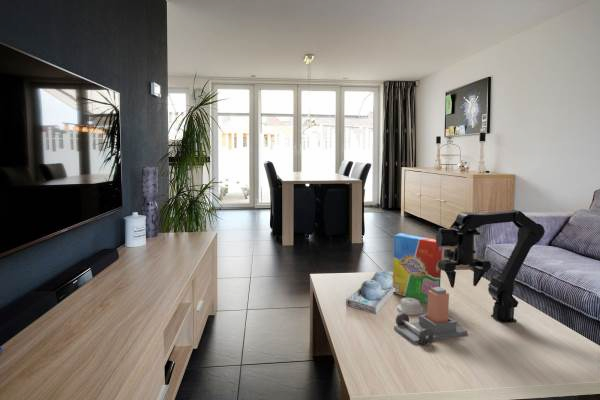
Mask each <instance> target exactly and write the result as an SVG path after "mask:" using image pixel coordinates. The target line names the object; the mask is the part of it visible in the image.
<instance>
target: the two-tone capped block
mask: <svg viewBox="0 0 600 400" xmlns="http://www.w3.org/2000/svg"><path fill="white" fill-rule="evenodd" d="M449 302H450V293H449V292H447V289H445V288H443V287H442V286H440V287H434V288H431V290H430V291H428V303H427V309H426V310H427V311H426V312H427V313H426V314H427V319H429V320H431V321H432V322H434V323H435V324H438V323H443V322H448V317H449V304H450V303H449Z"/></svg>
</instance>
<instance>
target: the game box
mask: <svg viewBox="0 0 600 400" xmlns="http://www.w3.org/2000/svg"><path fill="white" fill-rule="evenodd" d="M393 239H394V240H393V266H392V288H393V287H394V288H395V293H394V294H396V295H400V296H403V297H404V298H414V299H417V300H419V301H420V303H421V302H422V303H424V304H428V291H430V290H431V288H434V287H441V277H442V275H441V274H442V269H440V268H439V267H438V262H439V261H440V260H443V259H442V258H443V256H442V255H443V247H439V246H438V245H437V243H436V238H430V237H429V238H428V237H425V236H424V237H421V236H418V235H413V234H412V235H411V234H407V233H403V232H400V233H397V234H394V236H393Z"/></svg>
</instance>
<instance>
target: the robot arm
mask: <svg viewBox="0 0 600 400" xmlns="http://www.w3.org/2000/svg"><path fill="white" fill-rule="evenodd" d="M502 223H513V225H514V226H516V228H517V229H518V231H517V233H516V234H517V241H516V244H515V245H514V248H513V250H512V251H511V254H510V255H509V258H508V259H507V261H506V263H505V265H504V268H503V269H502V272H501V274H500V275H498V276H497V277H495V276H492V277H491V280H490V283H488V284H487V286H488V288H487V291H488V294H489V295H490V296H491V298H492V300H493V301H494V305H493V306H492V314H490V317H492V318H494V319H495V320H497V321H498V322H500V323H513V322H517V319H516V318H515V317H514V315H515V308H517V307H518V305H519V301H518V300H517V299H516V298H515V297H514V296H513V294H514V291H515V284H514V283H515V279H516V278H517V276H518V274H519V272H520V270H521V268H522V266H523V264H524V262H525V260H526V258H527V256H528V254H529V253H530V250H531V248H533V247H534V246H535V245H537V244H538V243H539V242H540V241H541V240H542V238H543V237H544V235H545V233H546V230H545V228H544V226H543V225H542V223H541V224H540V223H537V222H536V221H535V220H533V219H531V218H530V217H528V216H527V215H525V214H524V213H523V211H520V210H516V209H511V210H504V211H503V210H502V211H495V212H494V211H493V212H483V213H476V212H467V211H465V212H464V211H462V212H460V213H458V214H457V216H456V218H455V220H454V222H453V223H452V224H451V225H450V227H449V228H441V227H440V228H438V231H437V232H436V236H435V239H436V243H437V245H438V246H439V247H442V248H444V247H446V248H450V247H451V248H452V247H453V248H454V247H455V248H454V251H452V249H444V251H443V252H444V253H443V256H444V258H445V259H442V260H440V261H439V262H438V267H439V268H440V269H441V271H444V272H445V274H446V276H447V278H448V282H449V285H450V288H454V287H455V282H456V275H457V271H455V270H456V269H457V268H472V270H473V280H472V284H473V285H472V286H473V287H477V285H478V284H479V282H480V281H481V280H482V278H483V276H484V275H485V274H486V273H487V272H488V271H489V270H491V269H492V263H491V261H490V260H488V259H486V258H482V257H480V258H479V257H477V258H474V254H476V251H477V250H475V249H474V248H475V247H474V246H475V236H480V235H481V232H479V230H477V229H479V228H481V227H483V226H485V225H494V224H495V225H496V224H502ZM453 261H454V262H453Z"/></svg>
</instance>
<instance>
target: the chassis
mask: <svg viewBox="0 0 600 400" xmlns="http://www.w3.org/2000/svg"><path fill="white" fill-rule="evenodd" d="M395 324H396V325H394V326H393V330H394V331H396V332H397V333H398V334H399V335H401V336H402V337H404V339H406V340H408V341H409V342H410V343H412V344H413V345H417V344H423V345H428V344H430V343H431V342H434V341H439V340H444V339H450V338H454V337H459V336H465V335H468V330H467V329H465V328H463V327H462V326H460V325H459V324H457V321H456V320H455V319H453V318H451V317H449V316H448V322H443V323H438V324H435V323H434V322H432V321H431V320H429V319H427V313H425V314H419V315H418V321H416V322H411V323H410V317H409V315H408V314H405V313H401V312H399V313H398V315H396V317H395Z"/></svg>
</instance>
